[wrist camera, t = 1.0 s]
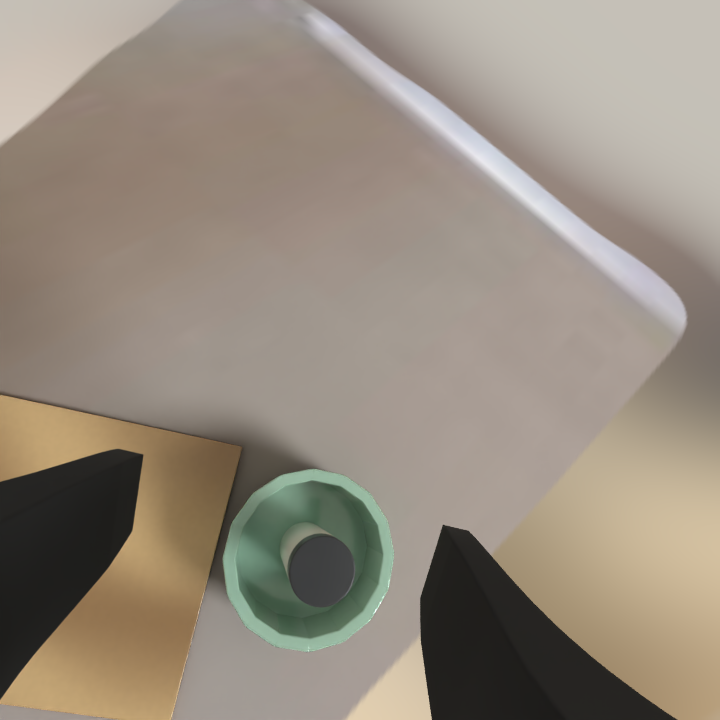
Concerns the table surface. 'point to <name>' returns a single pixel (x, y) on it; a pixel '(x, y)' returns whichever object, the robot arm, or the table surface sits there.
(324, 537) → the marker
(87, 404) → the table surface
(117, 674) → the cork mat
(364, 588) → the pen pot
